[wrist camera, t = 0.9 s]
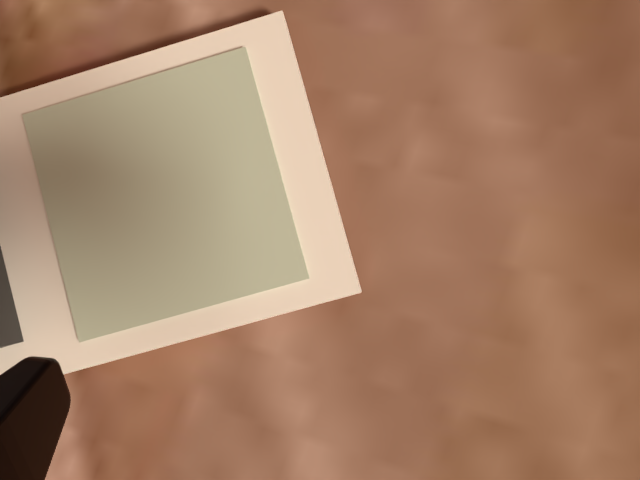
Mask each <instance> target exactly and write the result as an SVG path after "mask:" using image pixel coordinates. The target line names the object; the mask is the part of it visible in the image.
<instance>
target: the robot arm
mask: <svg viewBox="0 0 640 480" xmlns="http://www.w3.org/2000/svg"><path fill="white" fill-rule="evenodd" d="M70 401H71V399H70V392H69V389H68V387H67V384H66V381H65V378H64V375H63V372H62V369H61V366H60V364H59V362H58V361H57V360H56V359H54V358H47V357H37V356H30V357H27V358H25V359H23V360H21V361H20V362H18V363H17V364H15V365H14V366H12V367H11V368H9V369H8V370H7V371H5V372H4V373H2V374H1V375H0V480H45V477H46V474H47V472H48V469H49V466H50V463H51V460H52V457H53V455H54V452H55V449H56V446H57V443H58V440H59V437H60V435H61V432H62V429H63V426H64V423H65V420H66V418H67V415H68V412H69V408H70Z"/></svg>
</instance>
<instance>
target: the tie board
mask: <svg viewBox="0 0 640 480" xmlns="http://www.w3.org/2000/svg"><path fill="white" fill-rule="evenodd" d="M361 292H362V290H361V287H360V283H359V280H358V276H357V273H356V269H355V265H354V262H353V258H352V255H351V251H350V248H349V244H348V241H347V237H346V233H345V230H344V226H343V223H342V219H341V216H340V212H339V208H338V205H337V201H336V198H335V194H334V191H333V187H332V184H331V180H330V176H329V173H328V169H327V166H326V162H325V159H324V155H323V151H322V148H321V144H320V141H319V137H318V134H317V130H316V127H315V123H314V119H313V116H312V112H311V109H310V105H309V102H308V98H307V94H306V91H305V87H304V84H303V80H302V77H301V73H300V70H299V66H298V62H297V59H296V55H295V52H294V48H293V45H292V41H291V37H290V34H289V30H288V27H287V23H286V20H285V17H284V14H283V11H279V12H276V13H272V14H269V15H266V16H263V17H260V18H256V19H253V20H250V21H247V22H243V23H240V24H237V25H234V26H230V27H227V28H224V29H221V30H217V31H214V32H211V33H208V34H204V35H201V36H198V37H195V38H192V39H188V40H185V41H182V42H179V43H175V44H172V45H169V46H166V47H162V48H159V49H156V50H153V51H149V52H146V53H143V54H140V55H136V56H133V57H130V58H127V59H124V60H120V61H117V62H114V63H111V64H107V65H104V66H101V67H98V68H94V69H91V70H88V71H85V72H81V73H78V74H75V75H72V76H68V77H65V78H62V79H59V80H56V81H52V82H49V83H46V84H43V85H39V86H36V87H33V88H30V89H26V90H23V91H20V92H17V93H13V94H10V95H7V96H4V97H0V375H1V374H2V373H4V372H5V371H7V370H8V369H9V368H11V367H12V366H14V365H15V364H17V363H18V362H20V361H21V360H23V359H25V358H27V357H30V356H37V357H47V358H54V359H56V360H57V361H58V362H59V364H60V366H61V369H62V372H63V374H67V373H70V372H74V371H77V370H81V369H85V368H88V367H92V366H96V365H99V364H103V363H107V362H110V361H114V360H118V359H121V358H125V357H128V356H132V355H136V354H139V353H143V352H147V351H150V350H154V349H158V348H161V347H165V346H168V345H172V344H176V343H179V342H183V341H187V340H190V339H194V338H198V337H201V336H205V335H208V334H212V333H216V332H219V331H223V330H227V329H230V328H234V327H238V326H241V325H245V324H248V323H252V322H256V321H259V320H263V319H267V318H270V317H274V316H278V315H281V314H285V313H288V312H292V311H296V310H299V309H303V308H307V307H310V306H314V305H318V304H321V303H325V302H328V301H332V300H336V299H339V298H343V297H347V296H350V295H354V294H358V293H361Z"/></svg>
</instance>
